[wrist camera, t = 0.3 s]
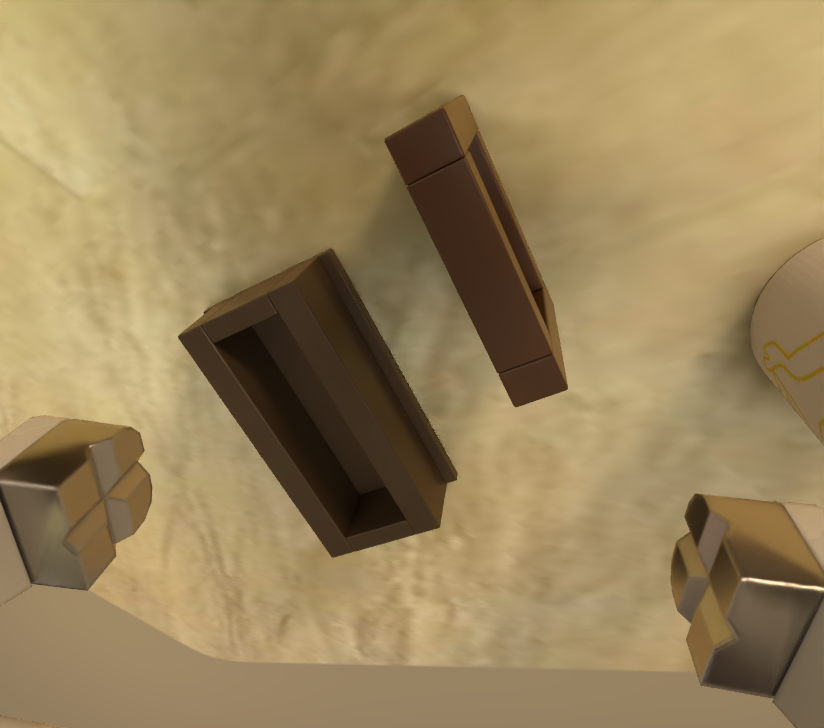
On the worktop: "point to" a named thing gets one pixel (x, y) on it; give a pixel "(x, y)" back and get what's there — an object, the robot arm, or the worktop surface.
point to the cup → (794, 334)
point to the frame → (482, 247)
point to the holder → (325, 405)
